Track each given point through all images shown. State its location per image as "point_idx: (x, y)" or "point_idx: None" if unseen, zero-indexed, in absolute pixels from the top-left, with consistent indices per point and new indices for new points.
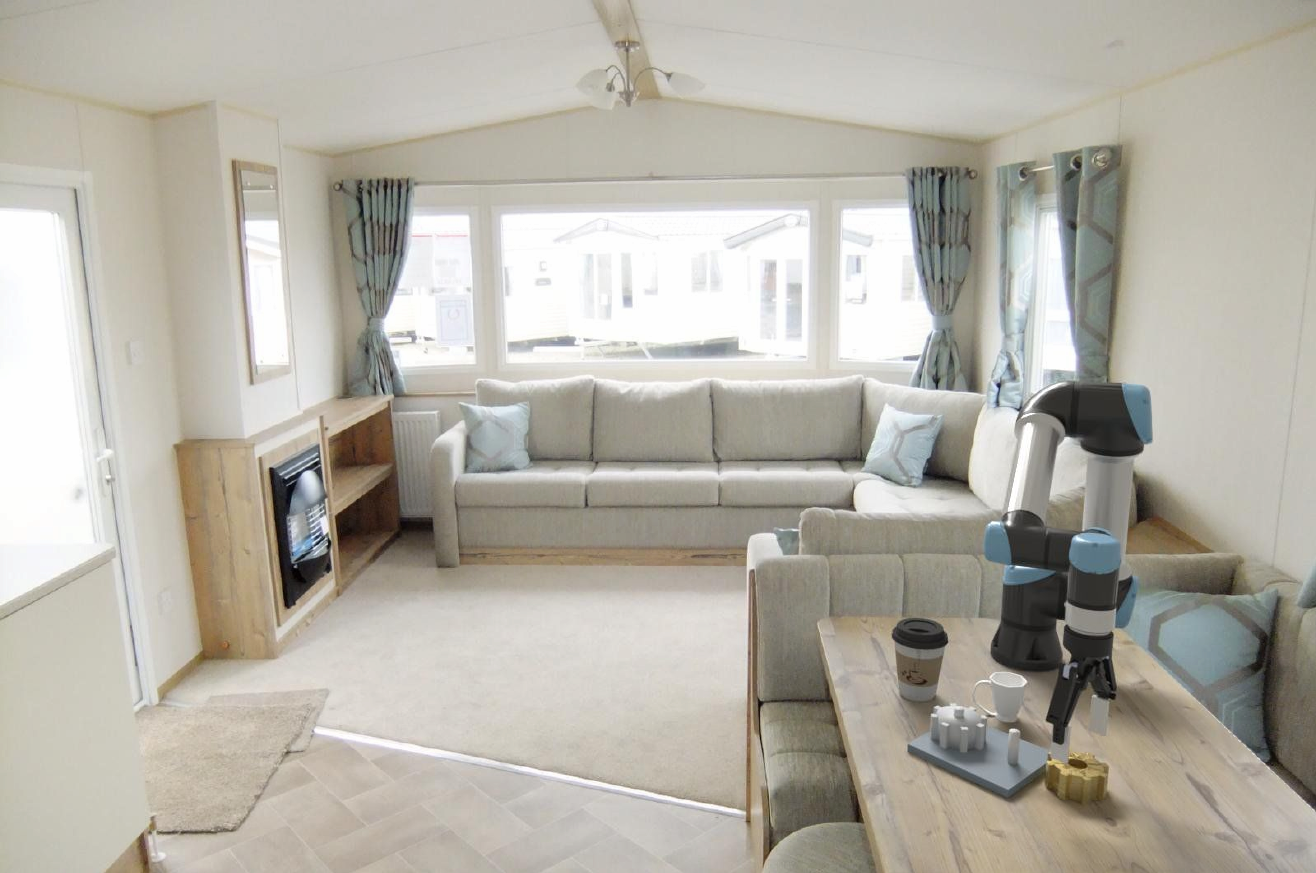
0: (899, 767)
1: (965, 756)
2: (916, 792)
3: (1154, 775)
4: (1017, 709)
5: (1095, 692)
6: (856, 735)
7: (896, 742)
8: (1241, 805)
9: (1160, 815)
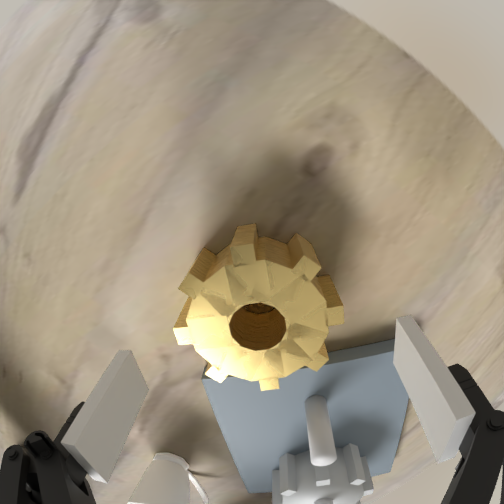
0: None
1: (363, 436)
2: None
3: (63, 228)
4: (162, 469)
5: (88, 486)
6: (394, 489)
7: (376, 475)
8: (26, 79)
9: (184, 113)
